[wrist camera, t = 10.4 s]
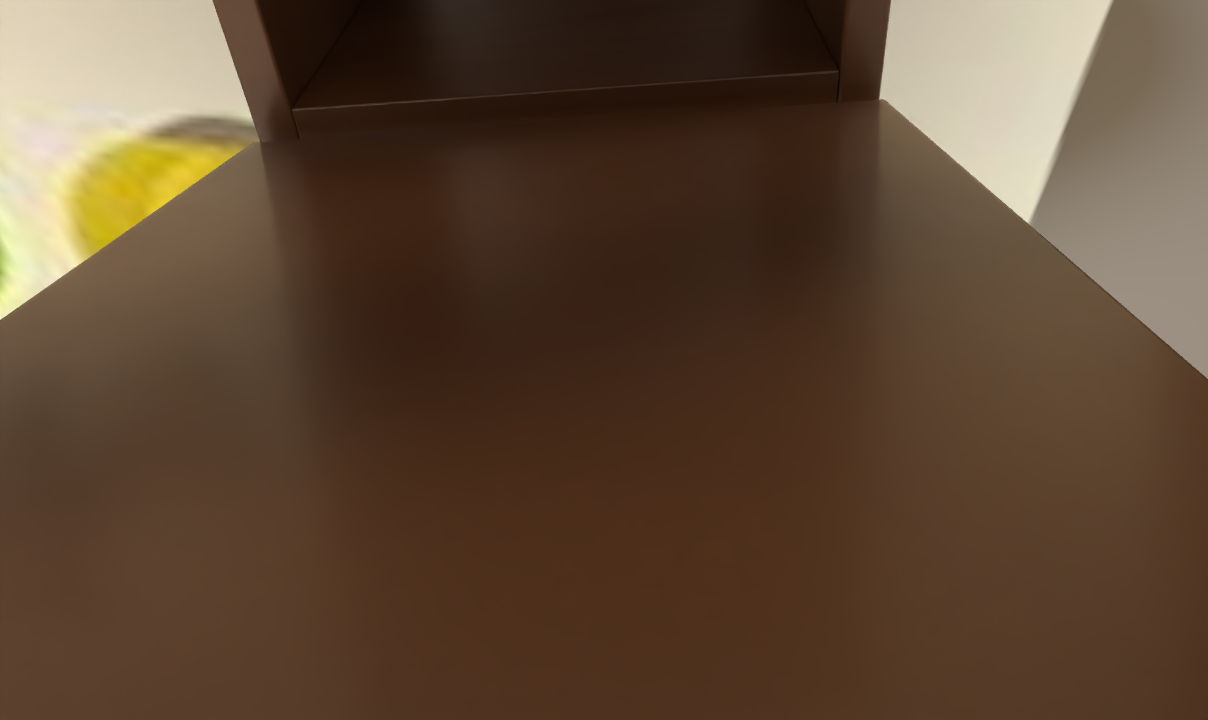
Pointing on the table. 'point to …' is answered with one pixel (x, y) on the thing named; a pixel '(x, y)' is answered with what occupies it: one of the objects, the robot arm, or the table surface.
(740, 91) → the chest
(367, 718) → the chest lid
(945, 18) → the table surface
